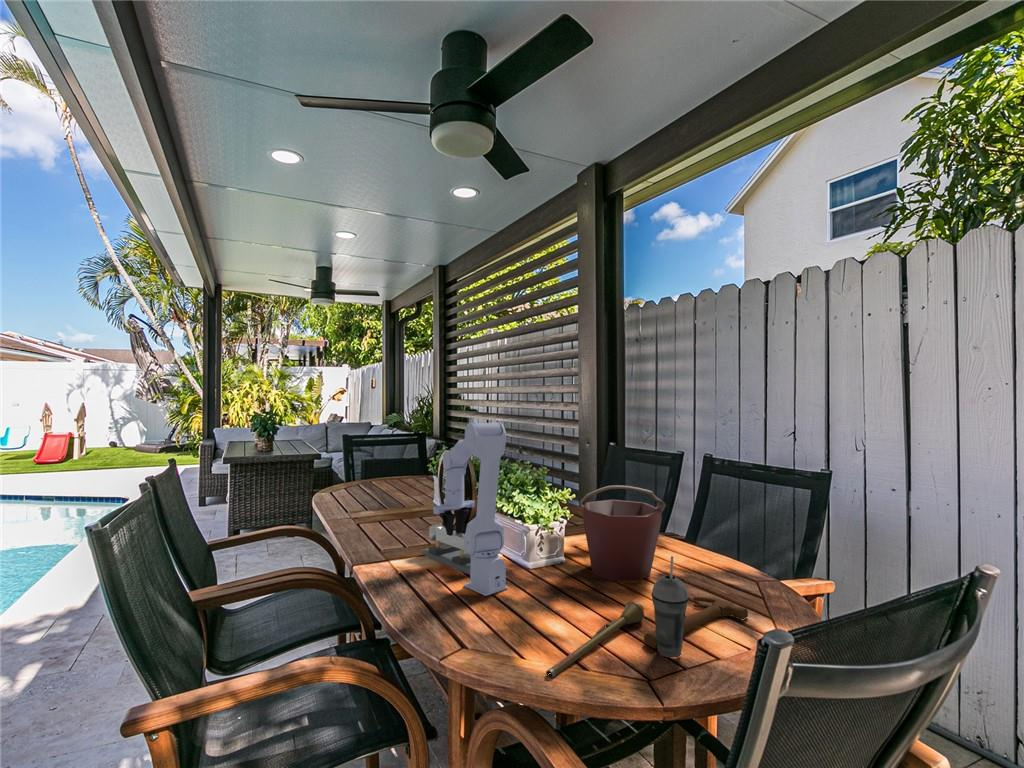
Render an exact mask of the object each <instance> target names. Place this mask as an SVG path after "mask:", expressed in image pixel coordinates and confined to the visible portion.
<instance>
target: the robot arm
mask: <svg viewBox="0 0 1024 768" xmlns="http://www.w3.org/2000/svg"><path fill="white" fill-rule="evenodd" d="M506 443H507V432H506V429H505V426H504V424H503V422H500V421H498V422H476V423H475V422H474V423H473V422H469V423H467V425H466V427H465V429H464V439H458V441H457V442H456V444H455V445H454V446H453V447H452V448H451V450H447V449H446V450H444V451H443V455H442V464H443V465H442V466H443V469H444V470H445V486H444V488H445V494H444V495H445V501H444V503H442V504H439V505H436V506H433V512H432V514H434V515H440V517H441V519H442V523H443V526H444V528H446V532H447V535H450V536H452V535H453V531H454V522H455V531H456V532H459V533H462V534H463V529H464V525H465V523H466V521H467V518H468V516H469V514H470V509H468V508H475V507H476V512H475V517H474V518H472V519H471V520H470V521H469V522H468V523H467V524H466V529H465V533H464V534H465V535H464V546H465V550H466V551H467V553H468V554H470V555H471V574H469V575H470V578H469V579H470V581H469V582H466V583H464V584H463V587H465V588H467V589H469V590H471V591H474V592H476V593H478V594H479V595H483V596H485V597H486V596H490V595H493V594H495V593H499V592H502V591H505V590H507V589H508V588H509V587H508V585H506V583H507V582H506V581H507V579H506V578H507V577H506V576H507V567H506V566H507V565H506V563H505V561H504V560H503V559H502V558H501V557H500V556H499V555H500V554H501V551H502V550H503V548H504V546H505V535H504V534H505V533H504V532H505V530H504V526H503V524H502V522H501V521H500V520H499V519H497V518H495V517H496V516H495V515H496V507H497V498H498V497H497V496H498V485H499V484H498V483H499V474H500V465H501V464H500V463H501V457H502V456H503V455H505V451H506ZM472 456H473V457H476V458H477V459H479V460H480V467H479V478H478V489H477V501H476V504H475V500H473V499H472V500H471V499H469V500H465V475H466V473H467V470H466V469H467V467H468V460H469V459H470V458H471V457H472Z"/></svg>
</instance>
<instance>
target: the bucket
mask: <svg viewBox="0 0 1024 768" xmlns="http://www.w3.org/2000/svg"><path fill="white" fill-rule="evenodd" d="M608 490H609V491H610V490H631V491H636V492H640V493H643V494H646V495H650V498H651V499H652V500H653V501H654V502H655V503H657V506H656V507H655V506H654V505H651V504H649V503H646V502H641V501H633V500H632V501H631V500H620V499H606V500H605V499H604V500H596V501H587V500H588V498H591V497H593V496H596V495H597V494H599V493H603V492H606V491H608ZM586 501H587V502H586ZM584 502H585V503H584ZM583 503H584V505H583ZM666 506H667V504H666V503H665V502H664V500H662V499H660V498H658V497H657V496H656V495H655V494H654V492H653V491H652V490H649V489H645V488H641V487H637V486H631V485H621V484H620V485H617V484H615V485H607V486H604V487H600V488H598V489H595V490H593V491H591V492H588V493H587V494H586V495H585V496H583V498H581V500H579V503H578V507H579V508H580V509H581V510H582V513H583V514H582V522H583V526H584V532H585V537H586V544H587V550H588V554H589V555H588V556H589V561H590V567H591V572H592V574H593V575H595V576H598V577H601V578H603V579H606V580H609V581H613V582H640V581H642V580H643V579H645V578H646V577H648V576H649V575H651V573H652V572H651V571H652V568H653V564H654V558H655V553H656V549H657V544H658V540H659V535H660V528H661V526H662V525H661V524H662V522H663V521H662V519H663V518H662V515H663V514H662V513H663V512H664V511H665V508H666Z"/></svg>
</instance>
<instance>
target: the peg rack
mask: <svg viewBox="0 0 1024 768" xmlns="http://www.w3.org/2000/svg"><path fill="white" fill-rule="evenodd" d="M422 554H423V555H425V556H424V557H426V556H427V557H426V558H428V557H429V558H428V559H430V558H431V560H433V559H434V560H433V561H435V560H436V562H438V563H440V562H441V563H440V564H442V563H443V565H446V566H448V567H450V568H452V569H455V570H456V571H460V572H462V573H465V574H467V575H470V574H471V555H470V554H468V553H467V551H464V550H462V549H459V548H456V547H453V546H451V545H448V544H445V543H443V544H441V542H440V541H437V540H436V542H435V546H432V547H429V548H425V549H421V555H422ZM423 555H422V556H423Z"/></svg>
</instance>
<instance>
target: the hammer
mask: <svg viewBox="0 0 1024 768" xmlns="http://www.w3.org/2000/svg"><path fill="white" fill-rule="evenodd" d="M693 601H694V602H695V601H697V602H705V603H711V604H700V603H699V604H697V603H694V604H693V607H695V606H697V607H698V608H704V607H706V608H704V609H702V610H699V611H697V612H693V613H692V614H689V615H685V623H684V633H683V635H686V634H688V633H689V631H690V632H691V631H693V630H695V629H696V627H697V628H698V626H699V627H700V626H701V625H704V624H705V622H706V623H707V622H709V621H711V619H712V620H715V619H718V618H719V617H721V616H724V615H733V616H735V617H734V618H736V617H738V618H740V619H744V618H746V617H747V618H748V616H749V612H748V609H747V608H745V607H741V606H737V605H735V604H733V603H732V602H729V601H726V600H723V599H719V598H715V597H709V596H704V597H703V596H693ZM697 607H696V608H697ZM720 615H721V616H720ZM717 617H718V618H717ZM724 617H725V616H724ZM714 618H715V619H714ZM738 618H737V619H738ZM740 619H739V620H740ZM687 632H688V633H687ZM643 642H644V644H645V645H646V644H647V645H650V646H652V647H655V649H656V647H657V638H656V629H654V630H652V631H650V632H646V633H645V634H644V636H643ZM647 645H646V646H647ZM657 648H658V647H657Z"/></svg>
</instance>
